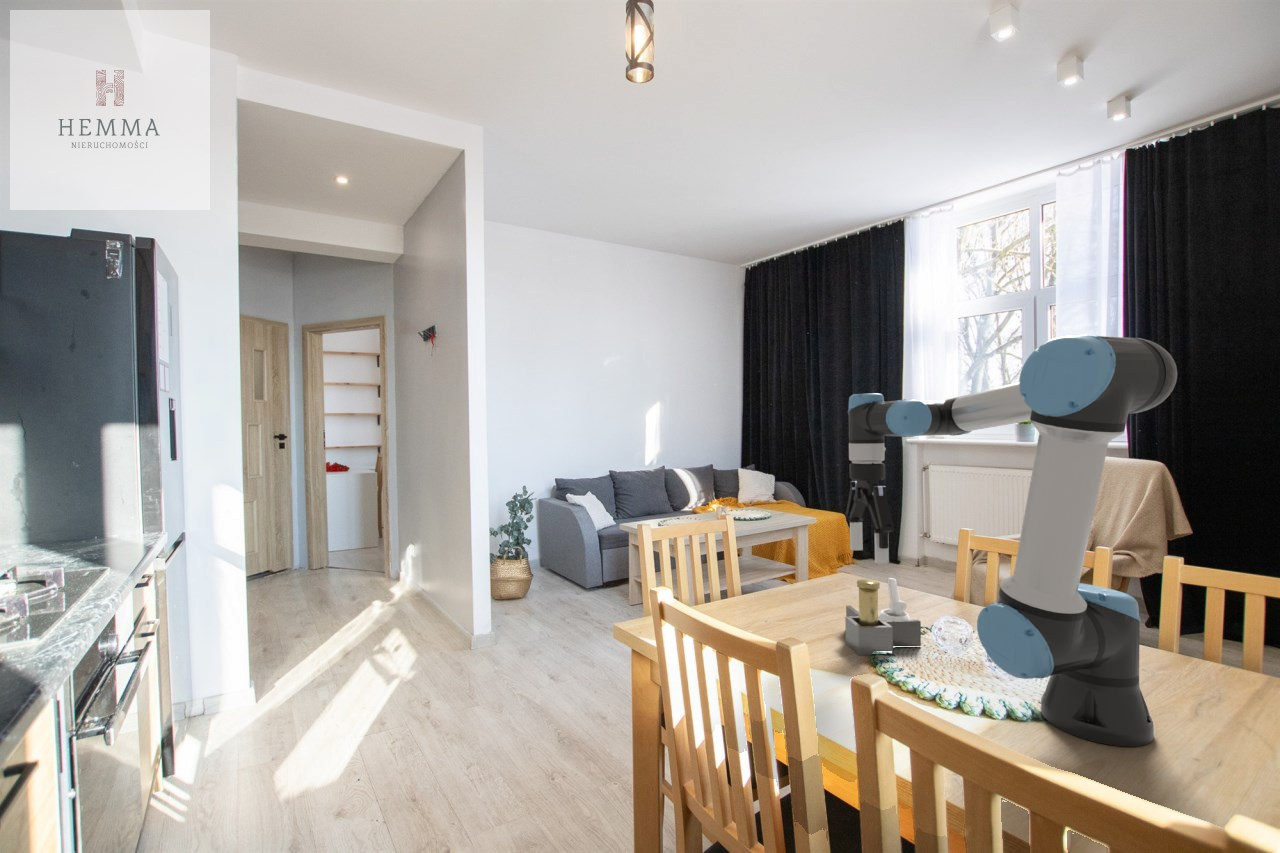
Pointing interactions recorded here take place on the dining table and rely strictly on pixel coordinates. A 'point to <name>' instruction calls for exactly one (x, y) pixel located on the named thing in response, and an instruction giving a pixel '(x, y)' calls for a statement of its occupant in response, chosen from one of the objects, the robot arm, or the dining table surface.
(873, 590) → the hinge pin
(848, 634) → the hinge base
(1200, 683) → the dining table surface
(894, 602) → the hook
